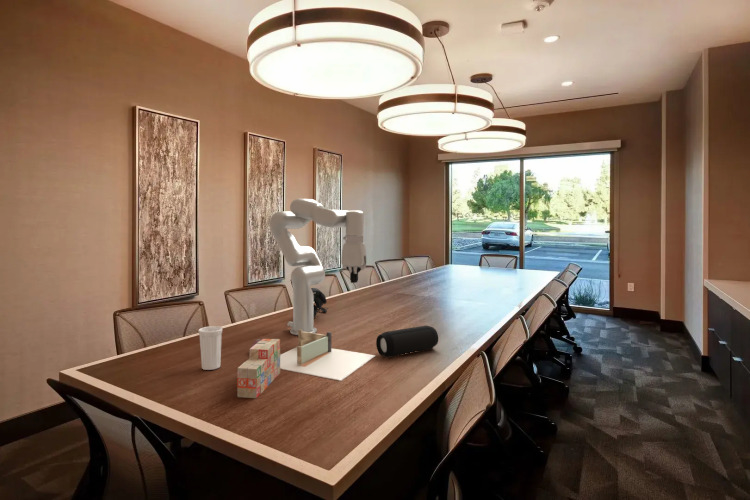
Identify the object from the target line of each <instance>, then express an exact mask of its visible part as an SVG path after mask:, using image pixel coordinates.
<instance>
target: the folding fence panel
mask: <svg viewBox="0 0 750 500" xmlns="http://www.w3.org/2000/svg"><path fill="white" fill-rule="evenodd" d="M296 347H297V364H302V363H304V362H306V361H308V360H310V359H312V358H315V357H317V356H319V355H321V354H323V353H326V352H328V337H323V338H321V339H318V340H316V341H313V342H311V343H308V344H306V345H303V346H298V345H297V346H296Z"/></svg>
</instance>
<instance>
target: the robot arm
mask: <svg viewBox="0 0 750 500" xmlns="http://www.w3.org/2000/svg"><path fill="white" fill-rule="evenodd" d="M289 208H290V211H289V210H288V211H286V210H284V211H277V212H275V213H273V214H272V215H271V217H270V220H269V228H270V231H271V235H272V236H273V238H274V239H275V241H276V243H277V244H278V246H279V248H280V251H281V253H282V255H283V257H284V259H285V262H286V264H288V266H290V267H295V268H294V269H293V270H292V271H291V274H290V280H291V285H292V293H293V294H292V302H293V303H292V304H293V305H292V306H293V307H292V310H293V311H292V313H293V314H292V315H293V317H292V318H293V319H292V321H289V320H288V322H287V324H286V325H287V327H290V328H291V329H290V330H289V333H290V334H292V335H294V336H298V330H299V329H302V331H303V332H310V333H316V334H317V332H318V329H317V328H316V327H315V326H314V322H315V321H314V318H315V317H314V305H315V302H314V296H313V294H314V293H313V292H312V289H311V286H313V285H318V284H319V285H320V284H322V283H323V282H324V280H325V278H326V272H325V268H324V266H323V265H322V264H323V263H322V262H321V260H320V258H319V255H318V254H317V252H316V250H315V249H314V248H313V247H311V246H307V245H300V244H299V242H297V239H296V237H295V236H294V234H293V233H291V231H289V230H292V229H294V230H295V229H302V228H303V227H305V226H306V225H308V224H309V223H310V222H311V221H312V222H314V223H315V224H316V225H320V226H323V227H326V228H334V229H335V228H345V235H344V236H343V237H342V239H343V241H345V242H343V245H342V250H341V265H342V268H343V269H346V270H347V271H348V272H349V273H348V274H349V278H350V283H351V284H355V283H358V280H359V273H360V272H361V271H363V270H366V269H367V250H366V245H365V242H364V212H363V211H362V210H343V209H342V210H341V209H329V208H326V207H324V206H323V204H322V203H320V202H318V201H316V200H315V199H312V198H296V199H294V200H292V201H291V203H290V205H289Z"/></svg>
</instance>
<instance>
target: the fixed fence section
mask: <svg viewBox="0 0 750 500" xmlns="http://www.w3.org/2000/svg"><path fill="white" fill-rule="evenodd" d="M332 335H333V334H332V331H327V332H326V334H323V333H322V334H321V333H317V332H316V333H310V332H303V331H302V329H299V330H298V335H297V337H298V338H297V339H298V340H297V341H298V343H297V344H298V345H297V346H303V345H306V344H308V343H311V342H313V341H316V340H318V339H321V338H323V337H328V352H331V349H332V347H333V346H332V342H333V341H332Z"/></svg>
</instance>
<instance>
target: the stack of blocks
mask: <svg viewBox="0 0 750 500" xmlns="http://www.w3.org/2000/svg"><path fill="white" fill-rule="evenodd" d="M261 339H262V340H261V341H259V342H258V343H257V344H255V345H254V346H253V347H252V346H251V347H252V348H251V347H250V348H249V351H250V353H249V358H248V359H247V360H246V361H244V362H243V363H242V364H241V365H240V366H238V367H237V378H236V386H237V388H236V389H237V398H246V399H248V398H249V399H257V398H258V397H259V396H260V395H261V394H263V392H264V391H265V390H266V389H267V388H268V386H269V385H270V384H271V383H272V382H273V381H274V380H275V379H276V378H277V377H278V376H279V375H280V374H281V369H280V355H281V339H279V338H261Z"/></svg>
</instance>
